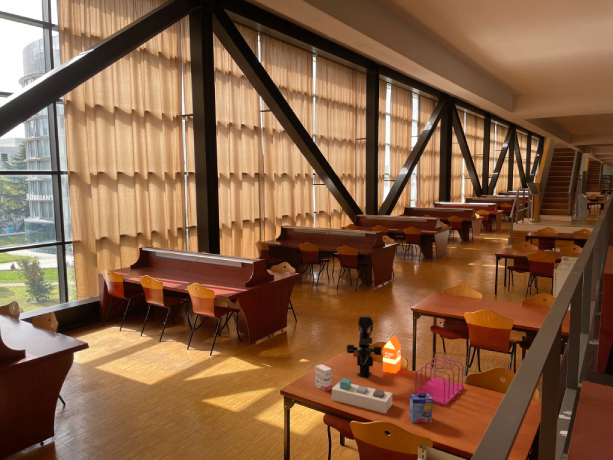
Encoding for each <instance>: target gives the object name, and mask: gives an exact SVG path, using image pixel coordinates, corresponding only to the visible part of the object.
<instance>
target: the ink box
mask: <svg viewBox="0 0 613 460" xmlns="http://www.w3.org/2000/svg"><path fill="white" fill-rule="evenodd" d="M332 370H333V369H332V368H331V367H329V366H327V365H324V364H322V363H321V364H318V365H315V382H314V383H315V387H316V388H318V389H320V390H321V391H323V392H328V391H332V388H333V386H332V385H333V383H332V382H333V381H332V379H333V378H332V377H333V376H332V375H333V371H332Z"/></svg>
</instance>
